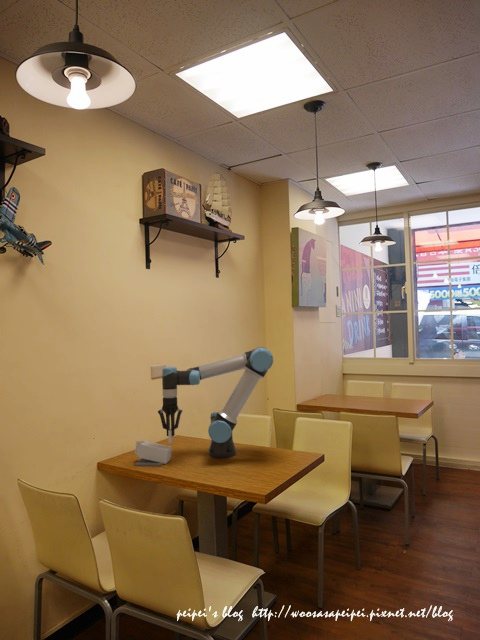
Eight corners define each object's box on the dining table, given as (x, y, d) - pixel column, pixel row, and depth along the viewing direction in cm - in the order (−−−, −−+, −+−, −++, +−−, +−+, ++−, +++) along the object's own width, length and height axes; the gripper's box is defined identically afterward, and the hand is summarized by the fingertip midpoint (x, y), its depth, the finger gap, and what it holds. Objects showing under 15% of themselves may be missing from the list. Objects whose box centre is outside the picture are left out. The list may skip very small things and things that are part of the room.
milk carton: (167, 450, 236) (133, 442, 240) (165, 464, 236) (131, 456, 240) (172, 446, 243) (139, 439, 247) (170, 460, 243) (137, 452, 247)
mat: (167, 459, 246) (167, 457, 246) (160, 466, 234) (160, 464, 234) (142, 459, 248) (142, 457, 248) (134, 465, 236) (134, 464, 236)
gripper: (184, 395, 243) (184, 440, 242) (160, 395, 245) (161, 440, 244) (180, 397, 235) (180, 444, 235) (155, 397, 237) (156, 443, 237)
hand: (170, 442), depth 239 cm, fingers closed
